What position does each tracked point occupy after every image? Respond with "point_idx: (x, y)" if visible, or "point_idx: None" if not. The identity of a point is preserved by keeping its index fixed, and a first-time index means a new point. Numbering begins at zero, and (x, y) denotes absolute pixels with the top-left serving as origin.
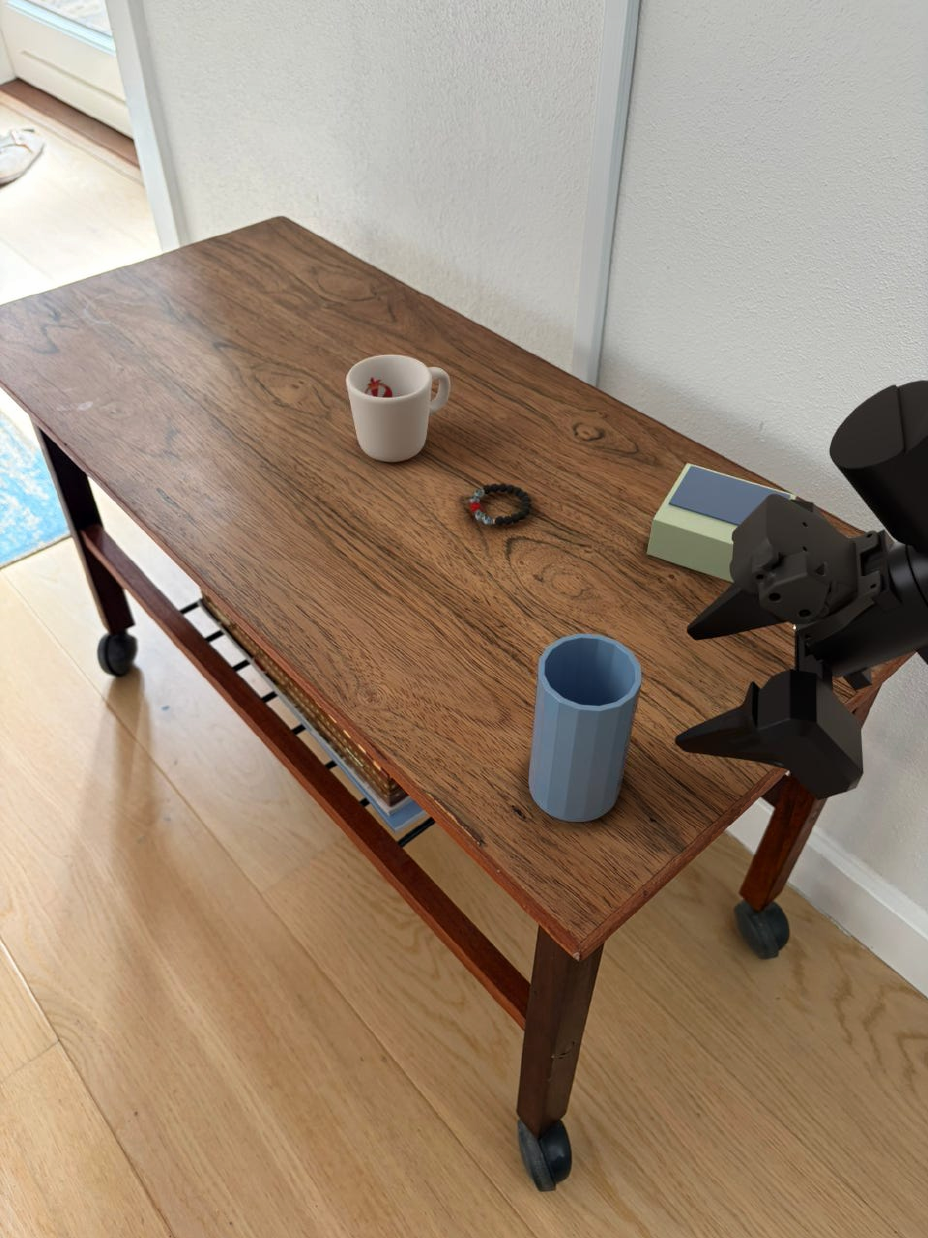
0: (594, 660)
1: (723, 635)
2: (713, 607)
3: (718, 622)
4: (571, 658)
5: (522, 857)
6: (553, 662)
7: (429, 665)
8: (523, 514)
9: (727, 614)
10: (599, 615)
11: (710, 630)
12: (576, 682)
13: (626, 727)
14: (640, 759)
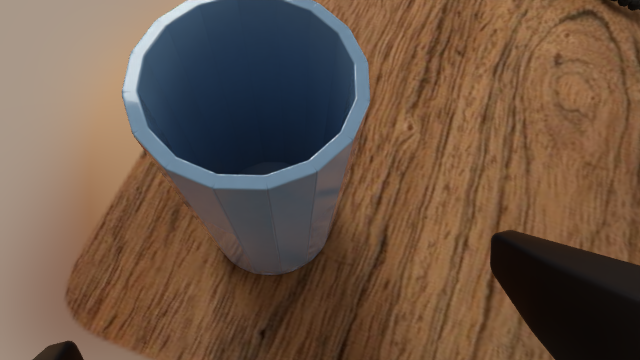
0: (345, 103)
1: (543, 342)
2: (601, 271)
3: (564, 311)
4: (320, 63)
5: (141, 200)
6: (283, 34)
7: (359, 12)
8: (637, 2)
9: (609, 332)
10: (553, 144)
11: (530, 297)
12: (327, 116)
13: (224, 221)
14: (354, 280)
